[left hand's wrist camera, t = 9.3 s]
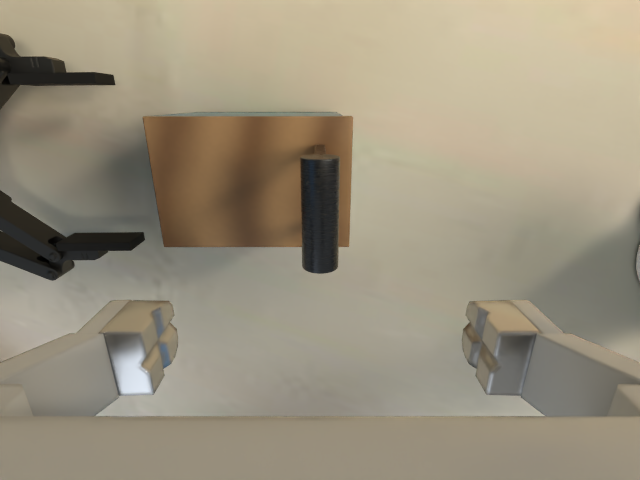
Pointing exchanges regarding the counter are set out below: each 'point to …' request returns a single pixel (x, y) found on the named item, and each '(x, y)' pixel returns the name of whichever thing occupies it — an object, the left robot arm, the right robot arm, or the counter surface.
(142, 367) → the left robot arm
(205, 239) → the lid
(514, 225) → the counter surface
